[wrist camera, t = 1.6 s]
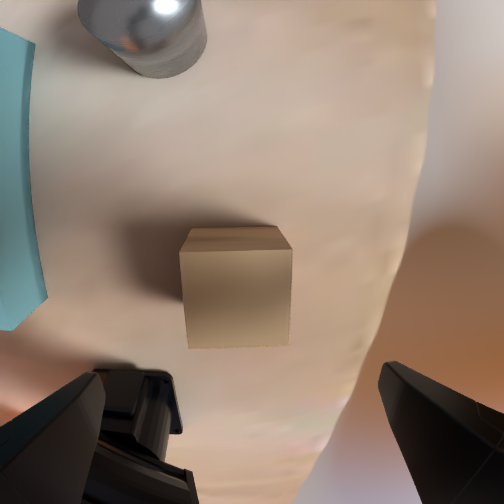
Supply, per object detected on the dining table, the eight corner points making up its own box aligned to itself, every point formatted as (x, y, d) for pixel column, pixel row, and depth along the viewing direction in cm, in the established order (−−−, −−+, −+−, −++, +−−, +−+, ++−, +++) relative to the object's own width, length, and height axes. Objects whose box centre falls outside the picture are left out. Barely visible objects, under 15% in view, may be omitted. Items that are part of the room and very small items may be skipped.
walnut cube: (275, 302, 20) (288, 345, 16) (196, 305, 20) (188, 348, 15) (276, 226, 19) (292, 249, 14) (191, 228, 19) (179, 252, 14)
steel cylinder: (206, 75, 16) (193, 30, 9) (122, 83, 16) (70, 50, 9) (208, 4, 15) (199, -60, 8) (128, 13, 14) (87, -40, 8)
